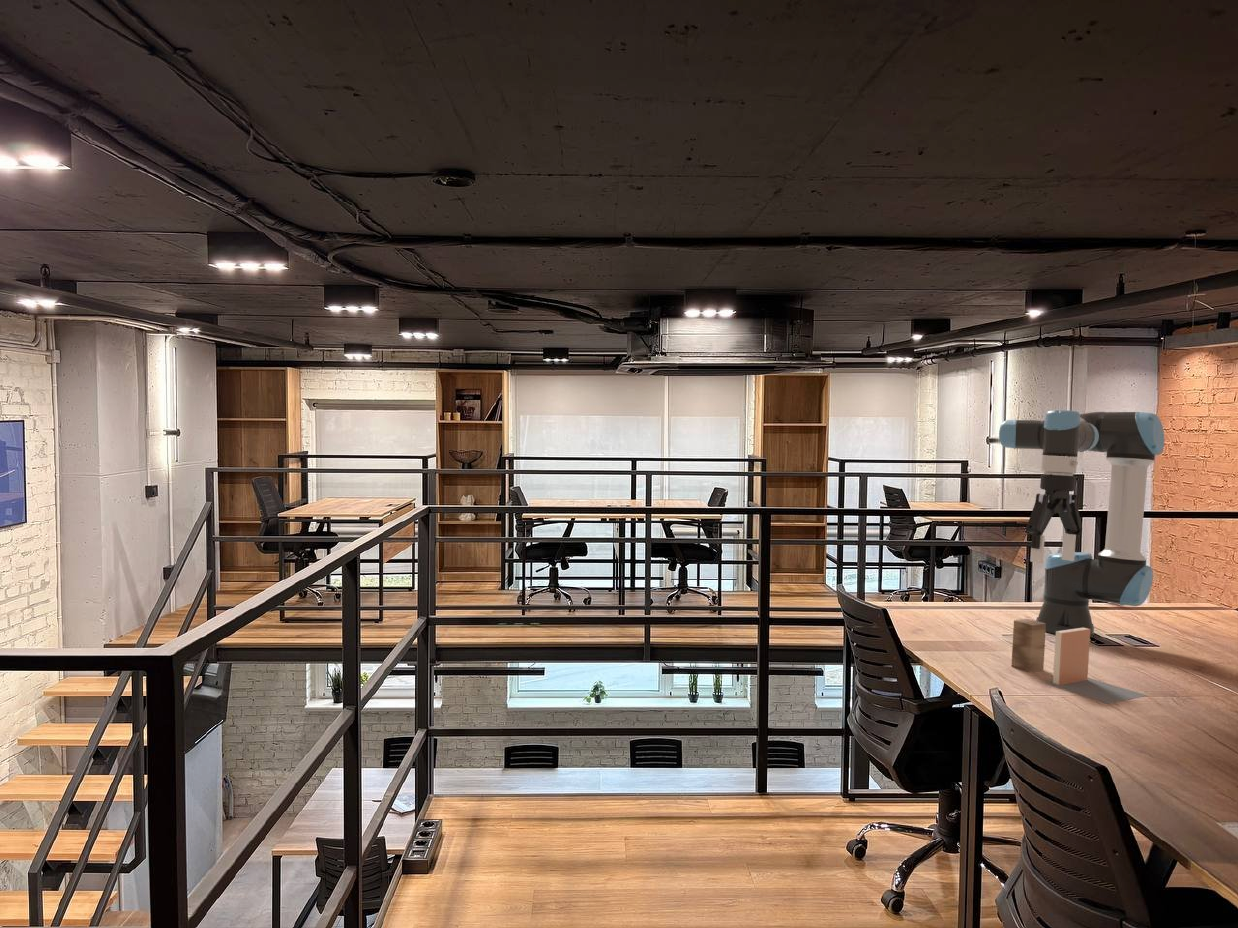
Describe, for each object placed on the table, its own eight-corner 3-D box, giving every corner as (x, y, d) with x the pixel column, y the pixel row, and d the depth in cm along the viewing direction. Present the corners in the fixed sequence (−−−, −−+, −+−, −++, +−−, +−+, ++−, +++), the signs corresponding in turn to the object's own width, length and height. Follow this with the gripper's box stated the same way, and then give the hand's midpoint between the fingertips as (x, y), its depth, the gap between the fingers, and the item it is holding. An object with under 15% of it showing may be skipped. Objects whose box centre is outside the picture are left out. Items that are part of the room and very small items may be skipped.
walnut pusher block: (1011, 668, 201) (1013, 620, 201) (1024, 666, 204) (1027, 618, 203) (1029, 674, 197) (1032, 625, 196) (1043, 672, 199) (1046, 623, 199)
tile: (1052, 682, 189) (1055, 631, 188) (1080, 677, 194) (1083, 627, 193) (1059, 684, 187) (1062, 633, 187) (1087, 679, 192) (1090, 629, 191)
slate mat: (1043, 685, 189) (1043, 682, 189) (1082, 678, 195) (1082, 675, 195) (1107, 706, 175) (1108, 703, 175) (1147, 697, 182) (1147, 695, 182)
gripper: (1044, 474, 189) (1038, 565, 190) (1101, 476, 203) (1095, 561, 203) (1013, 472, 196) (1007, 560, 196) (1071, 474, 209) (1065, 557, 210)
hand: (1052, 561), depth 200 cm, fingers open, 13 cm apart
